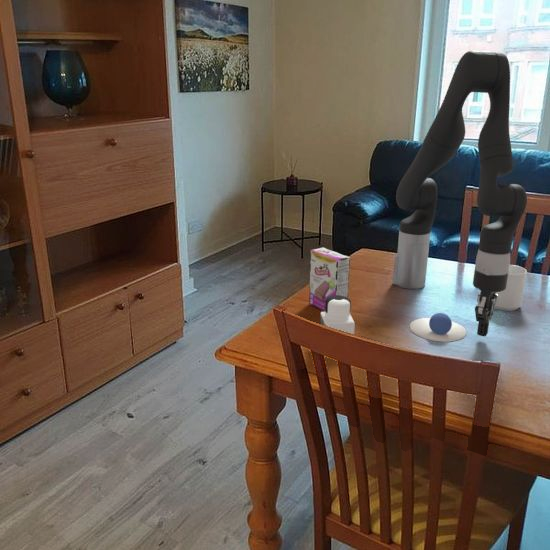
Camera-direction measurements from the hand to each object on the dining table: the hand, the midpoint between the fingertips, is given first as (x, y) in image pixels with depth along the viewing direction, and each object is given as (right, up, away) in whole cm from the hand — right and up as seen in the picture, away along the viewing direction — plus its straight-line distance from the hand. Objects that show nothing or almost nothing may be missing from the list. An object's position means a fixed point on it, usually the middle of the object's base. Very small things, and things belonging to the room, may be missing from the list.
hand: (482, 334), depth 138 cm
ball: (-9, +2, +3) cm, 10 cm away
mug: (+15, +6, +23) cm, 28 cm away
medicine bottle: (-36, -2, -2) cm, 36 cm away
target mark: (-9, +1, +6) cm, 11 cm away
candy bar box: (-36, +5, +19) cm, 41 cm away
